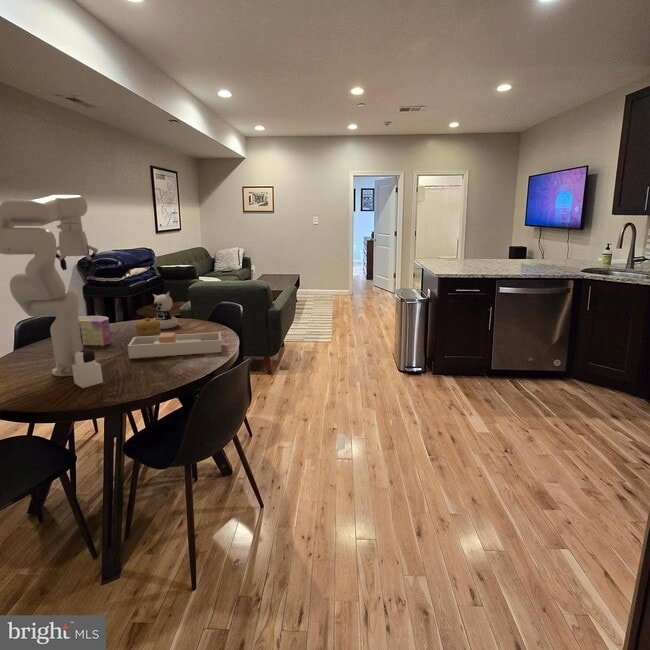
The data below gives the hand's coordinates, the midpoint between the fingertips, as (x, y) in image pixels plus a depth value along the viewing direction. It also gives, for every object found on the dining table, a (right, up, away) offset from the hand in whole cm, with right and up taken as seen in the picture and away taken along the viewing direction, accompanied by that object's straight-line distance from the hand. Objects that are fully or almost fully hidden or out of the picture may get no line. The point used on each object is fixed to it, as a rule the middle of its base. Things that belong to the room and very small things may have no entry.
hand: (77, 269), depth 177 cm
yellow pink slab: (-18, -29, +38) cm, 51 cm away
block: (+35, -32, +10) cm, 48 cm away
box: (-4, -33, +22) cm, 40 cm away
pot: (+16, -30, +34) cm, 48 cm away
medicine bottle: (+19, -45, -25) cm, 55 cm away
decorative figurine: (+16, -25, +54) cm, 62 cm away
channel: (+38, -35, +11) cm, 53 cm away
